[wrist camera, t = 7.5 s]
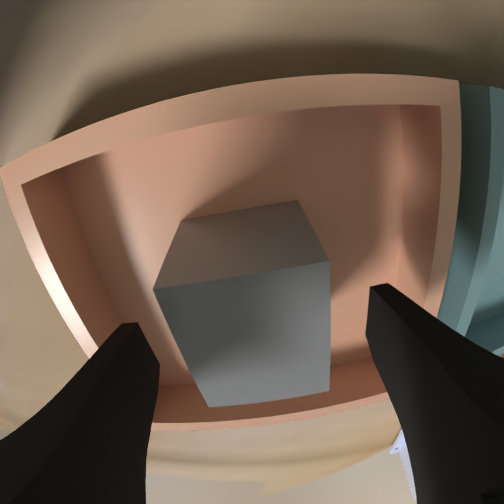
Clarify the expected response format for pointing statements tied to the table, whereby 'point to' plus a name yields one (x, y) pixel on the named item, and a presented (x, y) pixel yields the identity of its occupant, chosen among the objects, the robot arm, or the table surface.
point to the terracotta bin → (247, 196)
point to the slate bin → (479, 224)
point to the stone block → (249, 304)
